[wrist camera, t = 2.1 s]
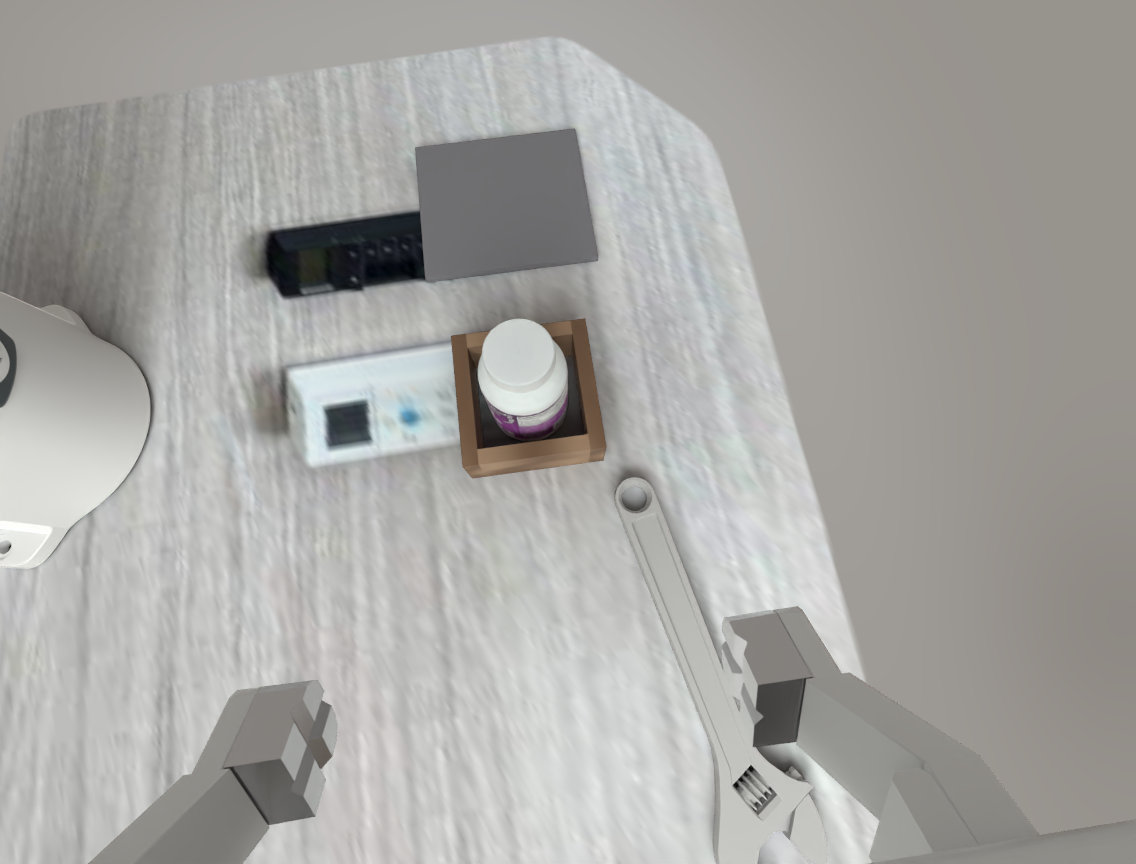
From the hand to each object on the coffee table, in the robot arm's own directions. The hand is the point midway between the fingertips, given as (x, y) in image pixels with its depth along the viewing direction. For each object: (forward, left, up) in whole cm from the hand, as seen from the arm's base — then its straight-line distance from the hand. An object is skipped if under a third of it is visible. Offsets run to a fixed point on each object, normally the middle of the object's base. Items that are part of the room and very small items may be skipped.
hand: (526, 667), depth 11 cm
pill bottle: (0, +14, -25) cm, 29 cm away
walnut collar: (0, +14, -25) cm, 29 cm away
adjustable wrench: (+9, -4, -26) cm, 28 cm away
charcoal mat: (0, +31, -25) cm, 40 cm away
